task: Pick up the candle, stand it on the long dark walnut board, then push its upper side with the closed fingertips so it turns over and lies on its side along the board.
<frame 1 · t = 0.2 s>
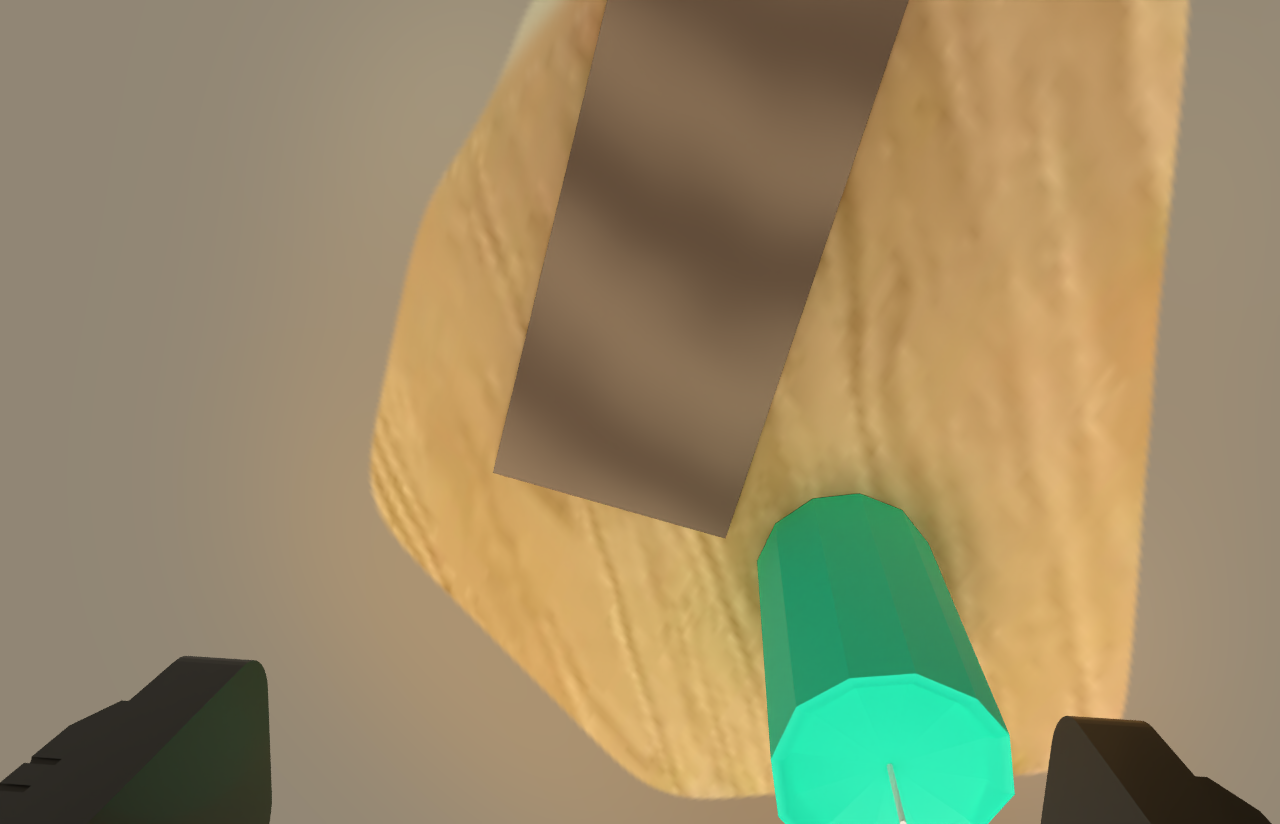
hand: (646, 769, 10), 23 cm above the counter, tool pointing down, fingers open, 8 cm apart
board: (695, 208, 31), on the counter
candle: (843, 569, 35), on the counter
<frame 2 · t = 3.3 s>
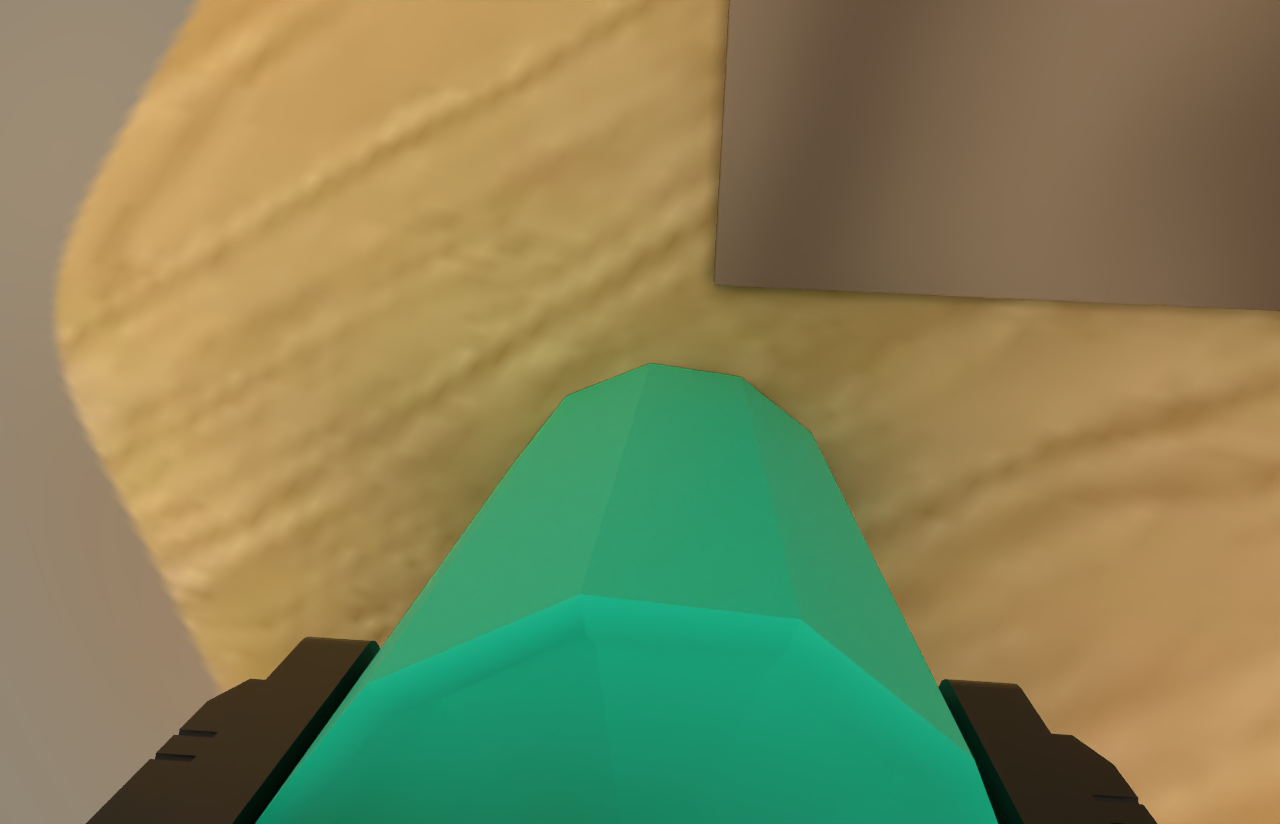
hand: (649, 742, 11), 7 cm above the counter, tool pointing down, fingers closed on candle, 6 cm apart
candle: (670, 527, 18), on the counter, touching gripper
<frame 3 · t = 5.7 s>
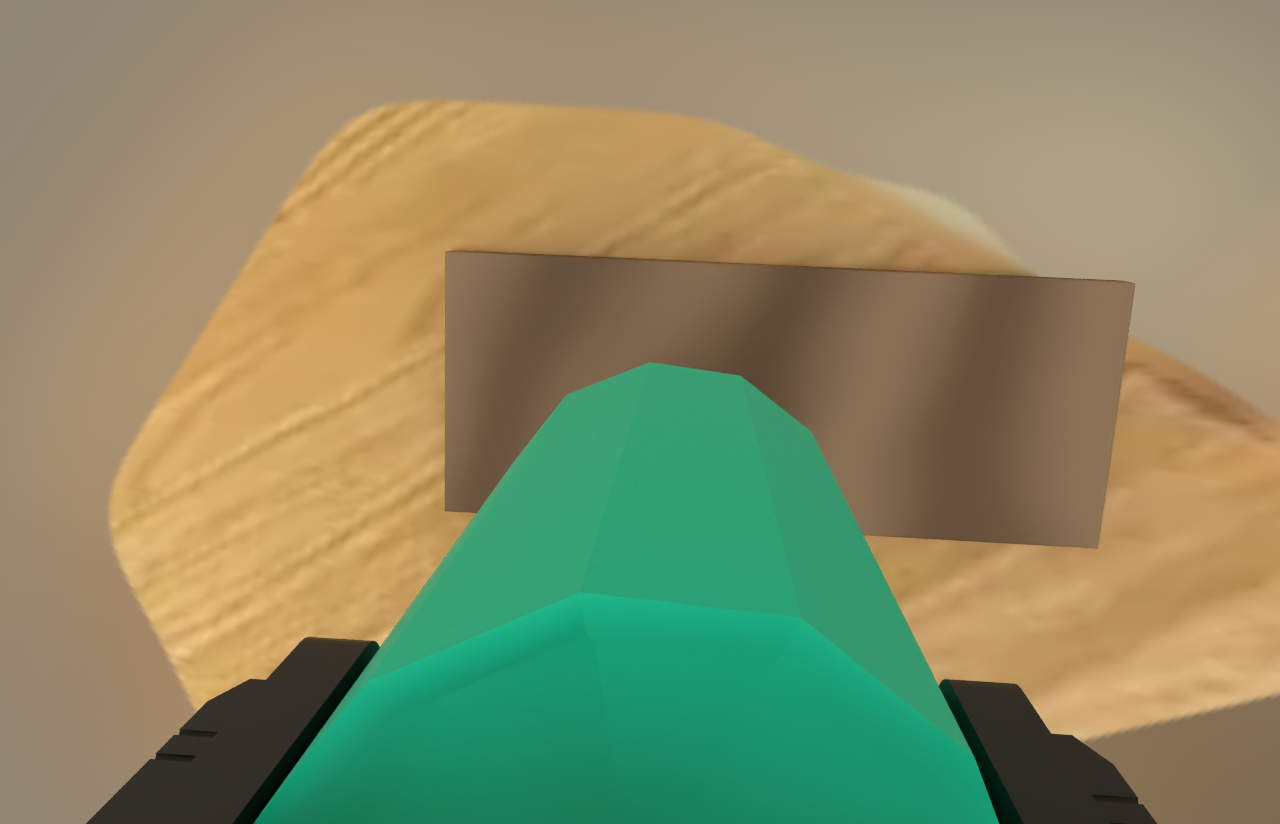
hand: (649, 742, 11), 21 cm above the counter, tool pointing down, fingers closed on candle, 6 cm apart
board: (773, 395, 31), on the counter
candle: (670, 526, 18), point 14 cm above the counter, touching gripper
when the fingers open (9 cm above the counter, at t = 8.3 s): candle stays where it is, resting on board.
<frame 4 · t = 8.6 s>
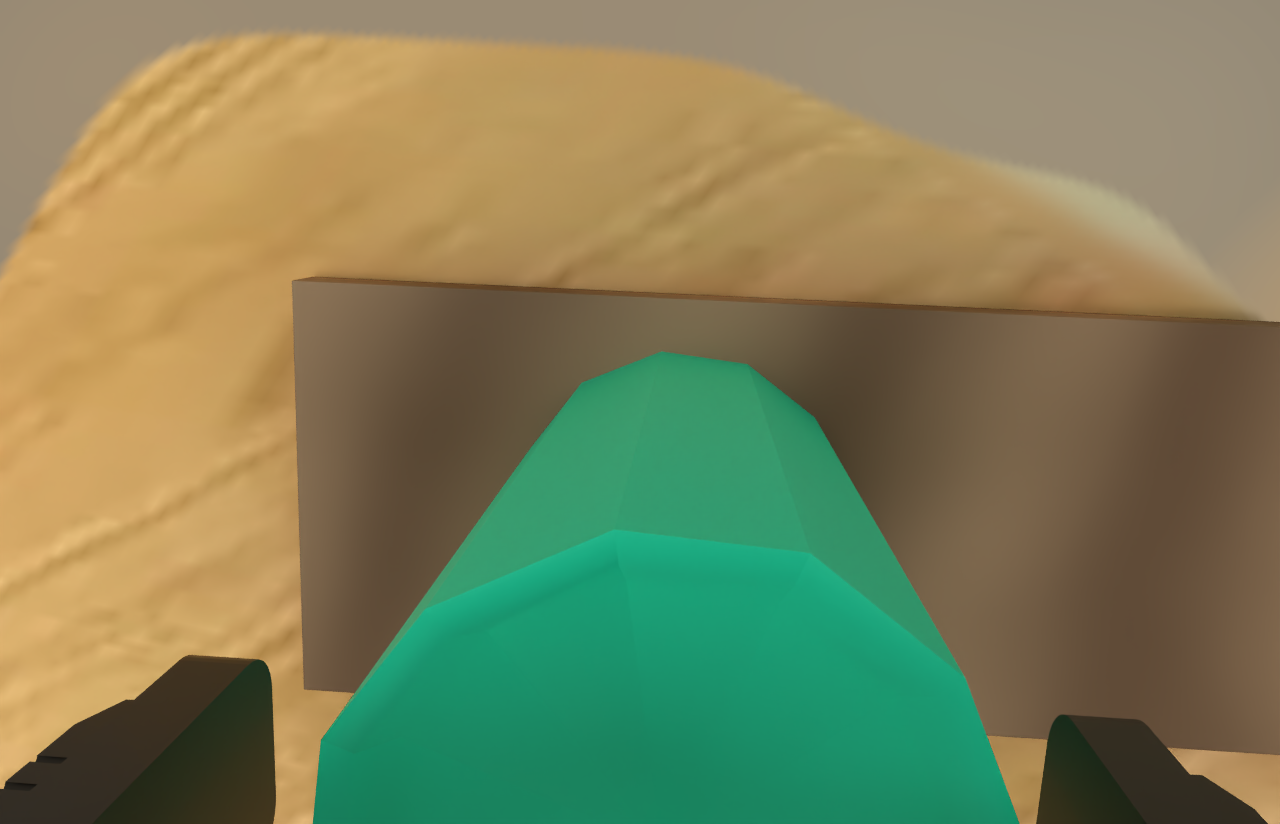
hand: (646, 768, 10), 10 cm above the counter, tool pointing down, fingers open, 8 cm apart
board: (825, 508, 19), on the counter
candle: (680, 508, 19), point 1 cm above the counter, touching board
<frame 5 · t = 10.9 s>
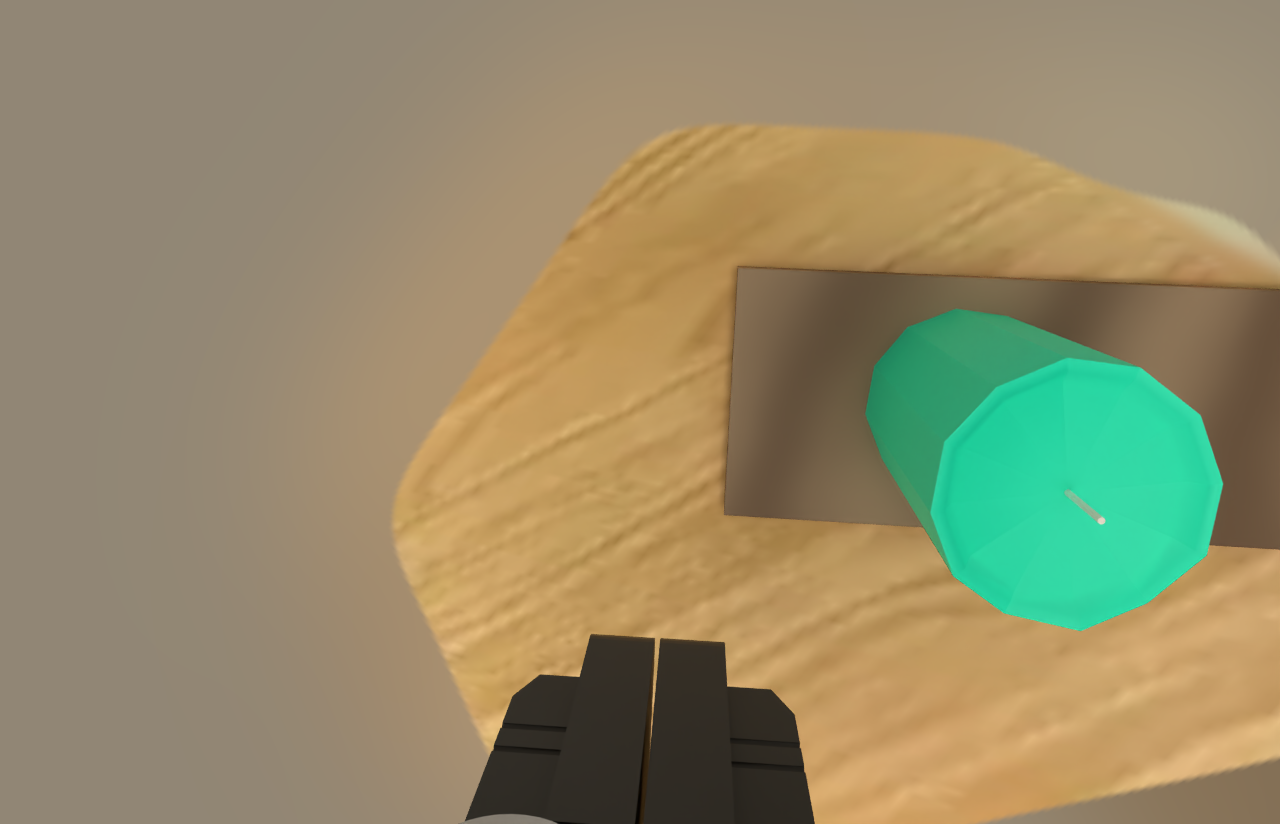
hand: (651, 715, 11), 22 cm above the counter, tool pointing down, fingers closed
board: (1044, 405, 32), on the counter
candle: (960, 402, 31), point 1 cm above the counter, touching board
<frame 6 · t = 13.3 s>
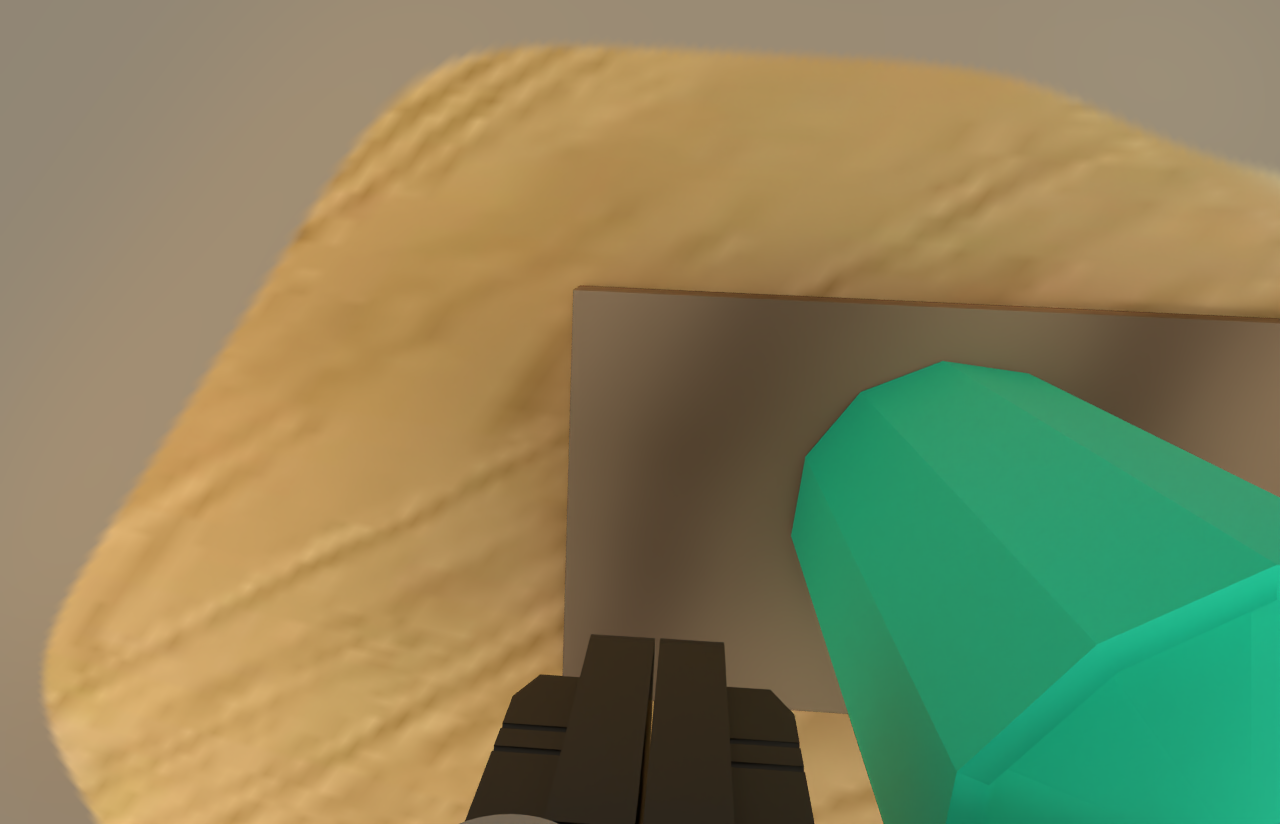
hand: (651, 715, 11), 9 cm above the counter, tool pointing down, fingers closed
board: (1084, 515, 20), on the counter
candle: (949, 516, 19), point 1 cm above the counter, touching board, gripper
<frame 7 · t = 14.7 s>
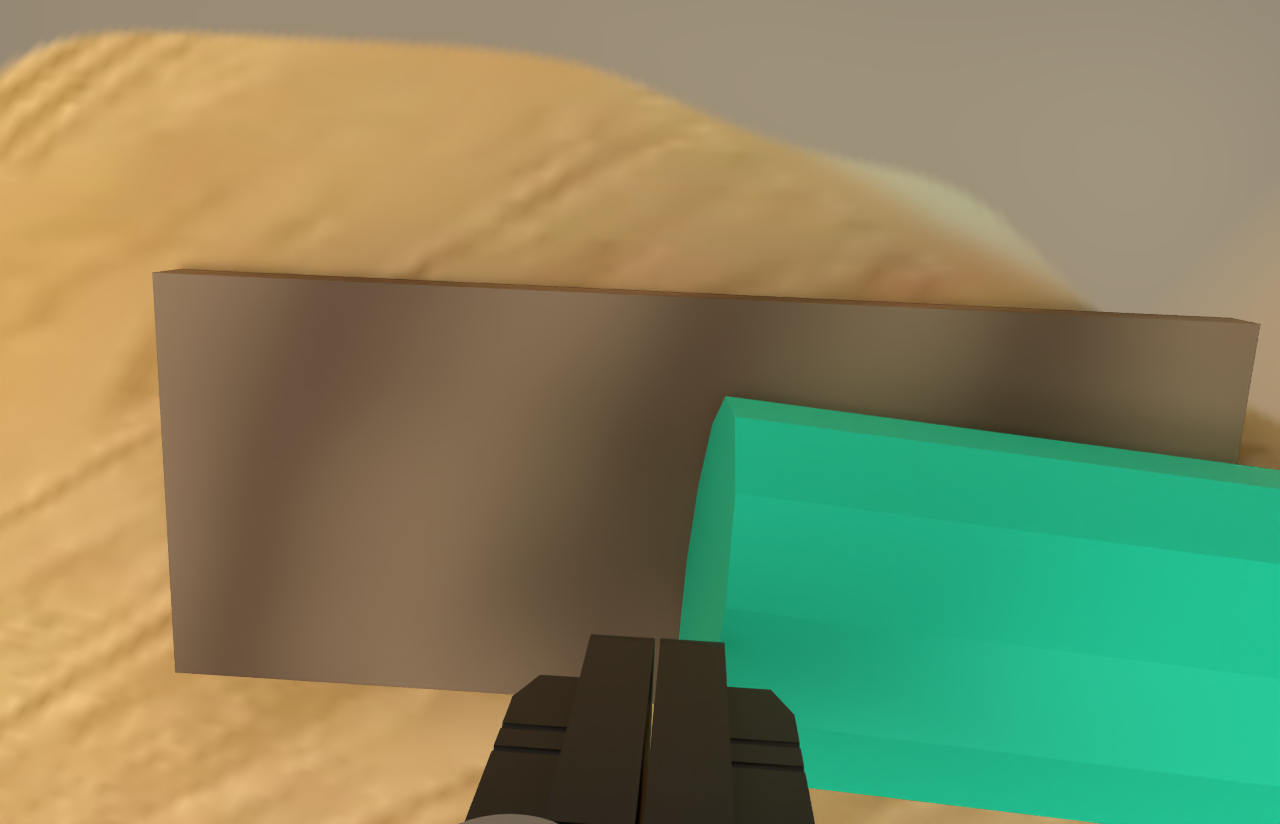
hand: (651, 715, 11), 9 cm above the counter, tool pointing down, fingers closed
board: (682, 494, 20), on the counter
candle: (689, 579, 16), point 4 cm above the counter, touching board
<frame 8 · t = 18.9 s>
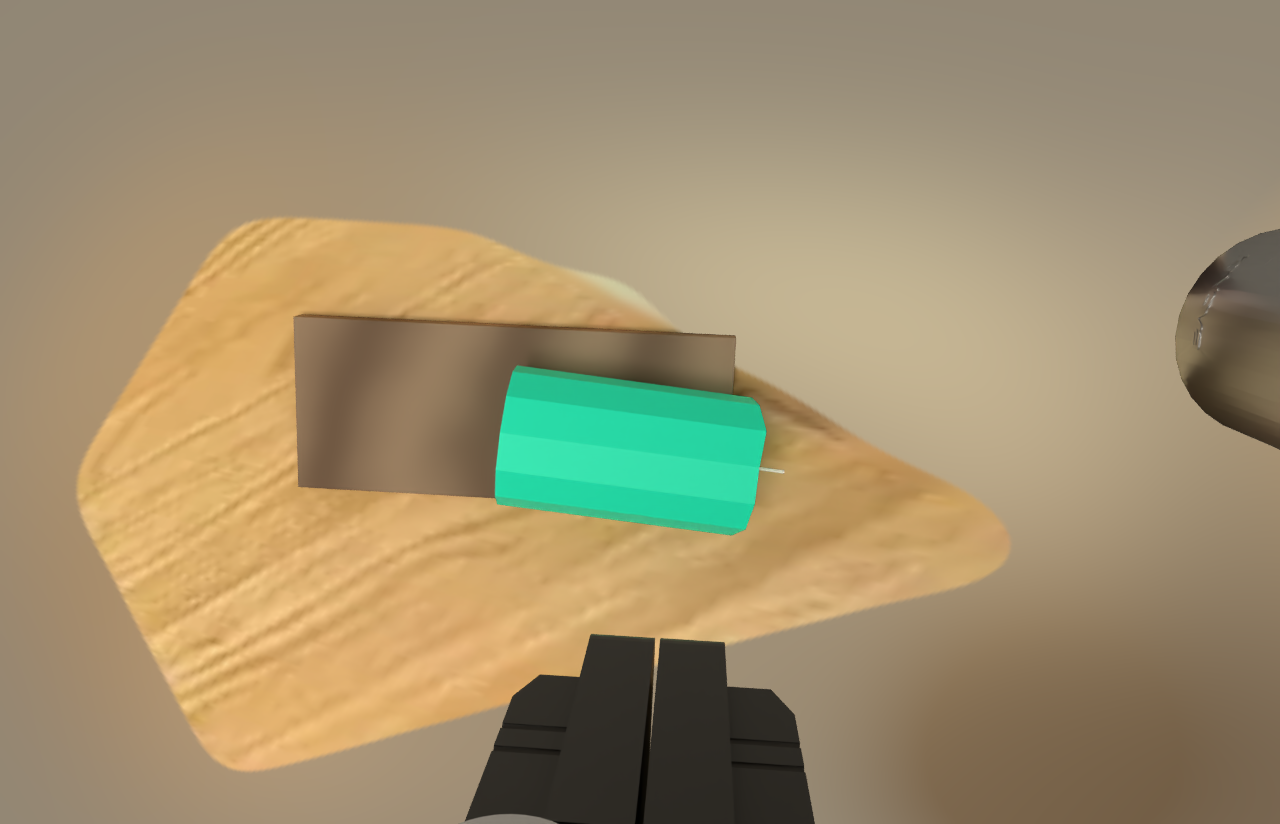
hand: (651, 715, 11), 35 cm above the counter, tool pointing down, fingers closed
board: (514, 410, 47), on the counter
candle: (502, 433, 43), point 4 cm above the counter, touching board
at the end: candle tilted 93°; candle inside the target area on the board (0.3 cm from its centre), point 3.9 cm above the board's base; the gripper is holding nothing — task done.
